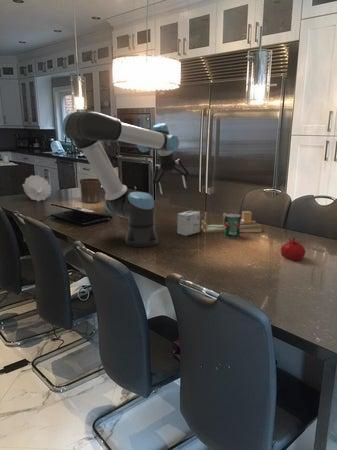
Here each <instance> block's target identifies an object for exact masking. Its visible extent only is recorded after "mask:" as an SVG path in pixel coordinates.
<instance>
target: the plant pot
mask: <svg viewBox="0 0 337 450" xmlns="http://www.w3.org/2000/svg"><path fill="white" fill-rule="evenodd" d="M78 182H79V186H80V187H81V196H82V197H81V198H82V202H83V203H85V204H89V203H90V204H97V203H99V202H101V188H102V185H101V183H100V181H99V180H98V178H81V179H79V180H78Z"/></svg>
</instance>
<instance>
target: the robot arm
mask: <svg viewBox="0 0 337 450" xmlns="http://www.w3.org/2000/svg"><path fill="white" fill-rule="evenodd" d="M61 127H62V128H61V129H62V132H63V135H64V136H65V137H66V139H68V140H69V141H72V142H73V144H74V145H75V147H76V148H77V150H79V151H82V152H83V154H84V156H85V157H86V160H87V161H88V163H89V164H90V167H91V169H92V170H93V173H94V175H95V176H96V177H97V178H96V179H98V180H99V181H100V183H101V188H103V191H104V192H105V194H104V201H105V202H104V205H105V208H106V210H107V211H108V213H110V214H112V215H113V216H117V217H122V218H125V219H128V229H127V232H126V236H125V239H124V241H125V244H126V245H127V246H129V247H133V248H150V247H154V246H155V245H158V235H157V233H156V230H155V227H154V226H155V223H154V222H155V201H154V196H153V195H152V194H151V193H148V192H141V191H132V192H130V191H129V189H128V186H127V185H126V184H123V183H122V182H121V180H120V178H119V176H118V174H117V172H116V170H115V168H114V166H113V164H112V163H111V161H110V158H109V157H108V155H107V153H106V151H105V149H104V147H103V145H102V143H101V142H102V141H103V142H111V143H115V142H118V141H119V142H124V143H128V144H133V145H136V147H137V149H138V150H139V151H140V152H141V153H145V152H149V151H157V153H158V157H159V161H160V164H157V163H156V164H155V165H154V168H155V169H154V173H153V177H152V183H153V184H156V188H157V190H158V189H159V191H160V192H159V193H160V194H161V195H163V190H162V184H161V179H162V178H163V175H164V174H165V173H166V172H169V171H173V170H175V171H176V172H177V173H179V174H180V175H181V176H182V177H181V178H182V183H183V187H184V188H185V189H187V182H188V178H187V176H188V175H190V171H188V169H187V168H186V167H185V166H184V165H183V163H182V162H181V161H182V160H181V159H180V158H177V160H175V156H174V153H173V152H176V151H177V150H178V149H179V147H180V139H179V137H178V136H177V135H174V134H170V130H169V128H168V125H167V123H165V122H164V123H157V124H154V125H153V126H152V129H151V130H150V129H149V128H148V129H147V128H144V127H140V126H137V125H132V124H129V123H125V122H122V121H121V120H120V119H119V118H116V117H113V116H110V115H107V114H105V113H104V114H103V113H100V112H96V111H73V112H69V113H68V114H67V115H66V116H65V117H64V119H63V121H62V125H61ZM176 164H178V165H179V166H180V168H182V170H181V169H180V168H178V167H177V166H176ZM160 169H161V170H160ZM159 170H160V173H159ZM183 171H184V172H183ZM158 173H159V174H158Z"/></svg>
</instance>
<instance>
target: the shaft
mask: <svg viewBox="0 0 337 450" xmlns="http://www.w3.org/2000/svg"><path fill="white" fill-rule="evenodd" d="M252 214H253V212H251V211H250V210H242V211H241V223H240V225H251V221H252V216H253V215H252Z"/></svg>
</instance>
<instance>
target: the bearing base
mask: <svg viewBox="0 0 337 450" xmlns="http://www.w3.org/2000/svg"><path fill="white" fill-rule="evenodd" d="M225 214H227V212H226V213H225V212H224V213H223V214H222V215H223V217H222V224H207V223H206V221H205V220H204V219H203V220H201V230H202V231H203V233H204V234H206V233H207V234H210V233H211V234H215V233H216V234H217V233H219V234H220V233H222V234H224V227H225ZM240 233H262V225H261V224H257V221H255V220H251V225H240Z"/></svg>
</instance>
